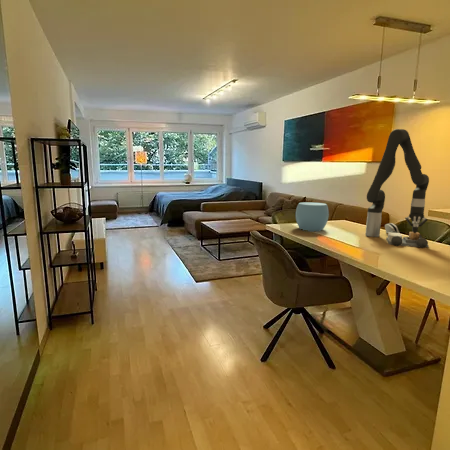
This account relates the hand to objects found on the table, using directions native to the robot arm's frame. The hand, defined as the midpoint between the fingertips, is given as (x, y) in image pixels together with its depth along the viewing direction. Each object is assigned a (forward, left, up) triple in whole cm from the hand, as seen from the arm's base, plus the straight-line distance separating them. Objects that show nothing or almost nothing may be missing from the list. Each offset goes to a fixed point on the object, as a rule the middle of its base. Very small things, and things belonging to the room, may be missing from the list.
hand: (414, 232), depth 210 cm
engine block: (0, 0, -6) cm, 6 cm away
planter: (-67, +25, -8) cm, 72 cm away
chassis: (-4, 0, -8) cm, 9 cm away
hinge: (-9, +26, -8) cm, 28 cm away
